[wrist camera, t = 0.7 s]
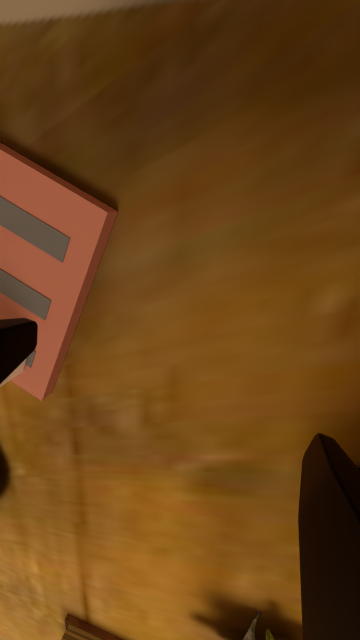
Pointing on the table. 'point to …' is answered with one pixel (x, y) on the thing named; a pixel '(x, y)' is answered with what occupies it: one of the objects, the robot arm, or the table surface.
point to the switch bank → (46, 259)
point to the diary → (84, 631)
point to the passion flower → (250, 635)
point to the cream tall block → (14, 373)
